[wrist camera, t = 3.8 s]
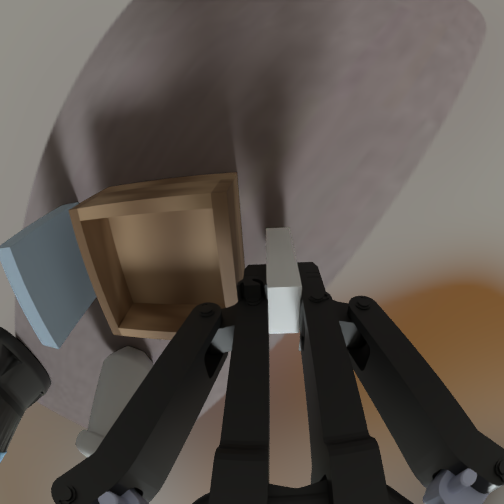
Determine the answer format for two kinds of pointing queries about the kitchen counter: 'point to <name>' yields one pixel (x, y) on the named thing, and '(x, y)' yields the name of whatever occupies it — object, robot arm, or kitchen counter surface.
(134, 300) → the open wooden crate
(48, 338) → the pale blue lid slab
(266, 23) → the kitchen counter surface
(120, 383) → the salt shaker
